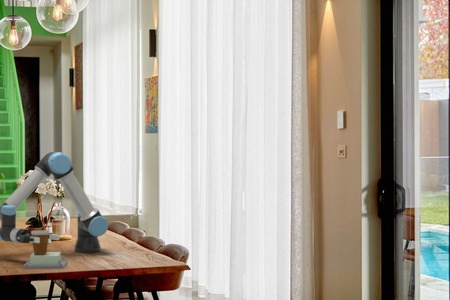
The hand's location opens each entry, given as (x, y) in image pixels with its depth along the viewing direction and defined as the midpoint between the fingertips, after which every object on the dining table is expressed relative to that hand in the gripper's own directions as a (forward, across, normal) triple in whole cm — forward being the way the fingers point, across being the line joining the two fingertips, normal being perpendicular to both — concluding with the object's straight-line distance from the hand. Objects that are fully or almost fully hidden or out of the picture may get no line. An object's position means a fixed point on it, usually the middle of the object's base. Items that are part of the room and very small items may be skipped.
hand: (49, 238), depth 399 cm
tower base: (-2, 0, -14) cm, 14 cm away
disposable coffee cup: (-4, +3, -8) cm, 9 cm away
